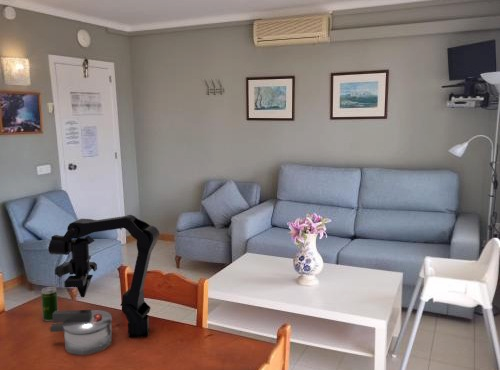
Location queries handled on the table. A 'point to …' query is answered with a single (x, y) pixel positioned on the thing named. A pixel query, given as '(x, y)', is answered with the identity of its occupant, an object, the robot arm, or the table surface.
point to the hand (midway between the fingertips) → (82, 297)
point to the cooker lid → (82, 320)
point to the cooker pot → (85, 340)
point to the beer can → (49, 302)
